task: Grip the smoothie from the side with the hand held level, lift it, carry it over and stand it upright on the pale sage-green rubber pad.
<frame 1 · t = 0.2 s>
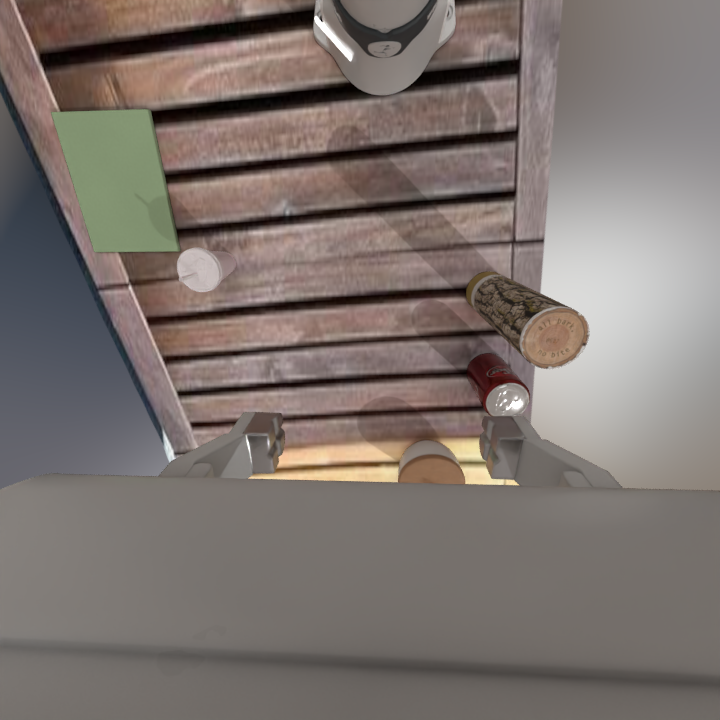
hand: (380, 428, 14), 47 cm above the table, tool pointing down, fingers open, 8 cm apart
soda can: (484, 369, 64), on the table
smoothie: (225, 262, 58), on the table
lidded bowl: (425, 453, 72), on the table
paper tube: (484, 290, 58), on the table
pad: (122, 186, 54), on the table
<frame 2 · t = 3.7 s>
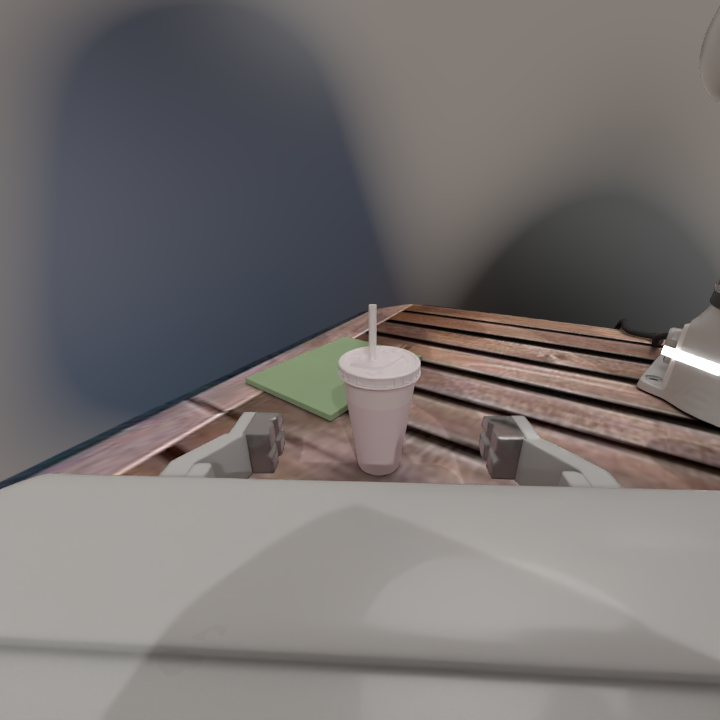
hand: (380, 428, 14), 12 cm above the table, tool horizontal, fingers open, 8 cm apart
smoothie: (378, 462, 30), on the table
pad: (339, 371, 47), on the table
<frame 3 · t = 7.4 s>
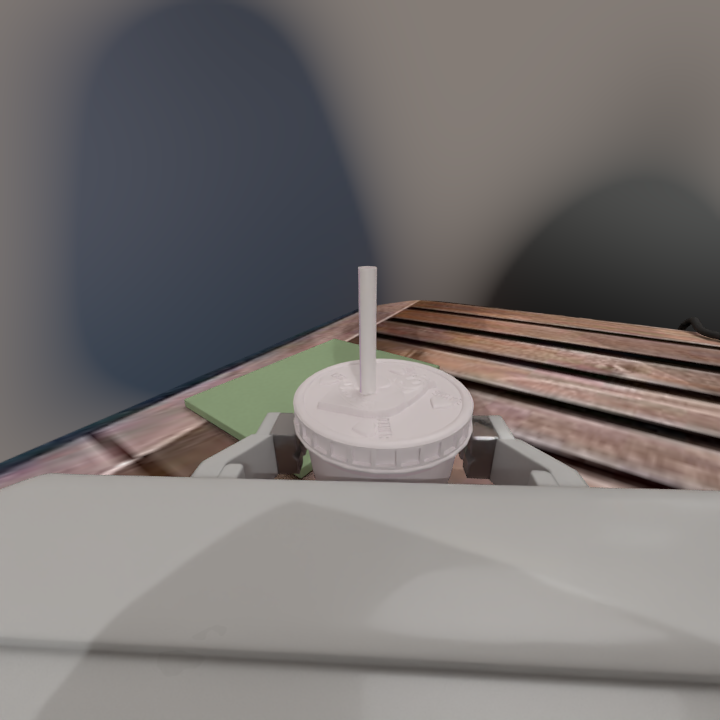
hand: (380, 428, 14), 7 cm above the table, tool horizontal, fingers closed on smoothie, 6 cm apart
smoothie: (379, 575, 16), on the table, touching gripper
pad: (323, 388, 33), on the table
when the fingers open (8 cm above the table, at t = 15.0 s): smoothie stays where it is, resting on pad.
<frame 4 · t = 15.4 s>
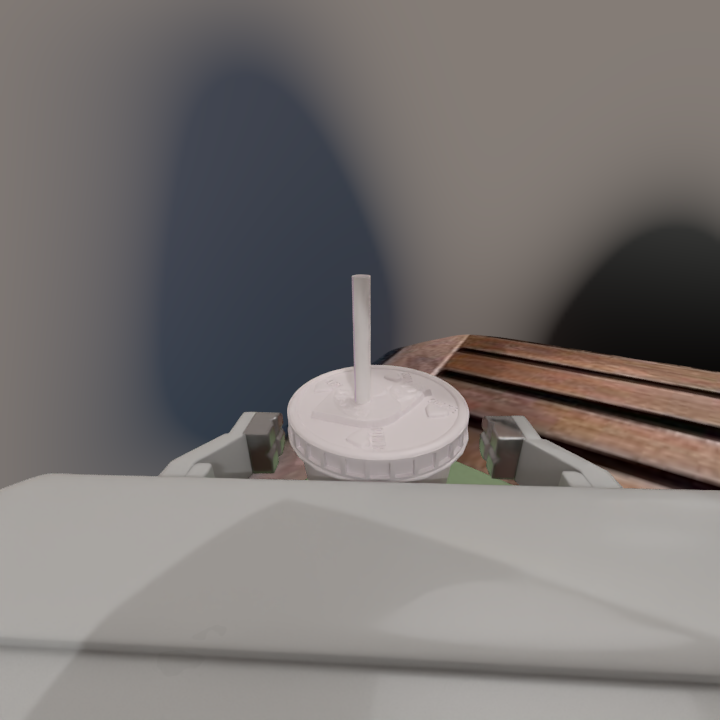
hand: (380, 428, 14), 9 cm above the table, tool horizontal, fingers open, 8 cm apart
smoothie: (375, 583, 16), point 1 cm above the table, touching pad
pad: (377, 588, 16), on the table
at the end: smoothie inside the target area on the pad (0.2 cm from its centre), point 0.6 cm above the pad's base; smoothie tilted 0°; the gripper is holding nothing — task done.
